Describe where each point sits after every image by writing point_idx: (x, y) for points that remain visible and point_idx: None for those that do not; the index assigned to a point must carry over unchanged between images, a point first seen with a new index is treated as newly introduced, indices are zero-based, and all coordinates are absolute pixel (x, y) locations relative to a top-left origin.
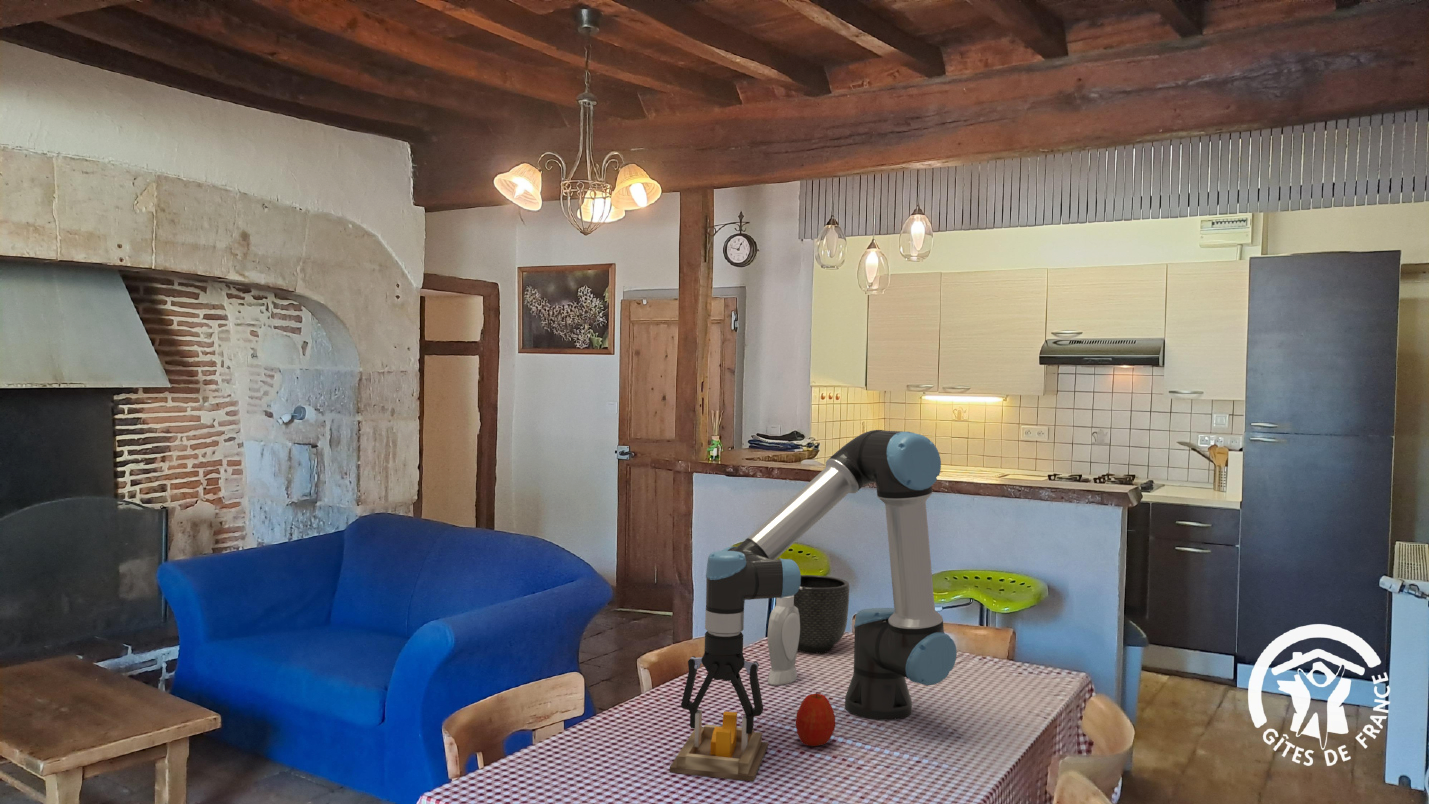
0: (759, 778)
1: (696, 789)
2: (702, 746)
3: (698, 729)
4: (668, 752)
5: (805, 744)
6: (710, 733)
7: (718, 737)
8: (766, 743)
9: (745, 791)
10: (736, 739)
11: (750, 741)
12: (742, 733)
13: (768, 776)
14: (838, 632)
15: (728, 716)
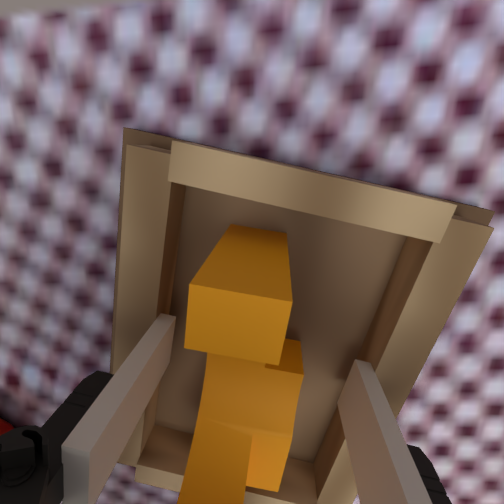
0: (116, 165)
1: (385, 11)
2: (324, 405)
3: (380, 427)
4: (443, 387)
5: (9, 424)
6: (292, 477)
7: (274, 281)
8: None
9: (161, 10)
10: None
11: None
12: (137, 369)
13: (86, 187)
14: None
15: None
